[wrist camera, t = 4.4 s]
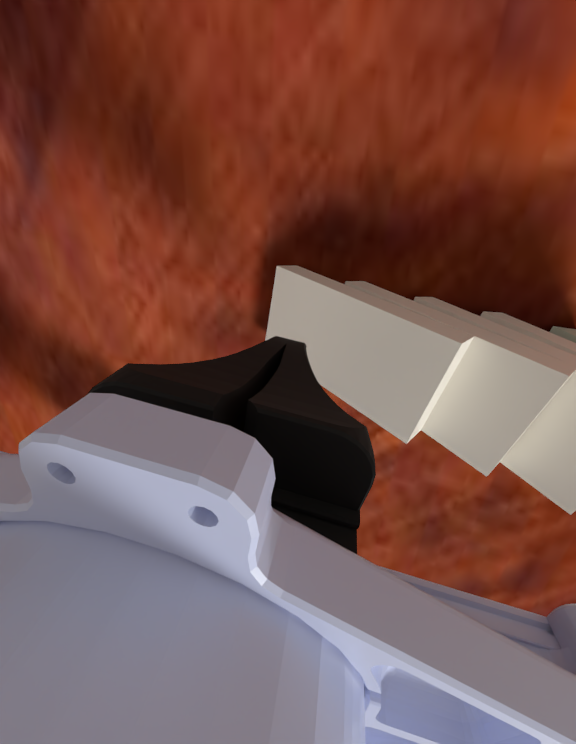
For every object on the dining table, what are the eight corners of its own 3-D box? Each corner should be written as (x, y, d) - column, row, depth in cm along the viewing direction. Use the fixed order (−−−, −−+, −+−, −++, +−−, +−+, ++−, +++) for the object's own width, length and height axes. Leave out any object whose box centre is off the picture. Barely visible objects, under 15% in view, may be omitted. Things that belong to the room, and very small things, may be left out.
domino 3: (382, 374, 18) (570, 514, 11) (415, 296, 15) (688, 415, 8) (399, 371, 19) (584, 500, 12) (433, 297, 16) (695, 404, 9)
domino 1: (264, 346, 18) (406, 443, 13) (276, 265, 16) (461, 343, 10) (282, 341, 19) (421, 429, 14) (297, 265, 17) (474, 336, 11)
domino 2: (323, 360, 18) (486, 476, 12) (345, 281, 15) (569, 376, 9) (340, 356, 19) (499, 461, 13) (363, 281, 16) (578, 366, 10)
